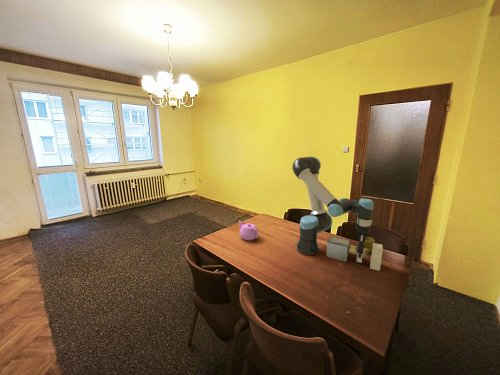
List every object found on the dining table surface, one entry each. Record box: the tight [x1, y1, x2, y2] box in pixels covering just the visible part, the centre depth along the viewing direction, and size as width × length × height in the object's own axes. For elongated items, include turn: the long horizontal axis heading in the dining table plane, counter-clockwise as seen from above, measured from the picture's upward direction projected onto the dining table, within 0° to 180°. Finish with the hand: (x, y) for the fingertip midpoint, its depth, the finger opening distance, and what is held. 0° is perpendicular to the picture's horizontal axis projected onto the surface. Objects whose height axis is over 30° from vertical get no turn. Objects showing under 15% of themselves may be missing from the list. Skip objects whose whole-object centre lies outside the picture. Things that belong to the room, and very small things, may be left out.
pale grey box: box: [325, 235, 350, 263], centre depth 135 cm, size 12×9×11 cm
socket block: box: [369, 243, 384, 272], centre depth 124 cm, size 5×9×12 cm, turn 148°
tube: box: [347, 244, 370, 258], centre depth 130 cm, size 17×5×5 cm, turn 58°
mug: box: [364, 236, 376, 253], centre depth 144 cm, size 12×10×10 cm
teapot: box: [238, 220, 259, 241], centre depth 163 cm, size 20×13×12 cm, turn 48°
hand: (359, 259), depth 130 cm, fingers closed on tube, 5 cm apart
